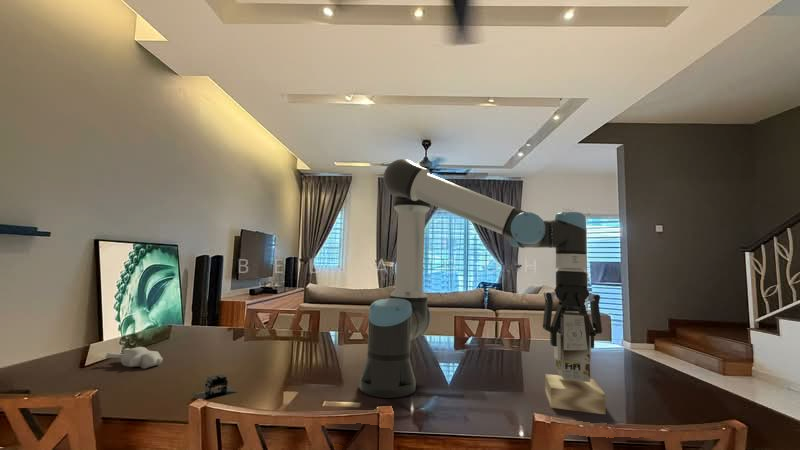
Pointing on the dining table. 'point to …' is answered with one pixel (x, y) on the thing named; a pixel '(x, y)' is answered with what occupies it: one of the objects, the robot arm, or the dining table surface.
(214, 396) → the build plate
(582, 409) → the beech block
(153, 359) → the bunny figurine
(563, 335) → the coffee box
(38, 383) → the dining table surface
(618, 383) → the dining table surface
